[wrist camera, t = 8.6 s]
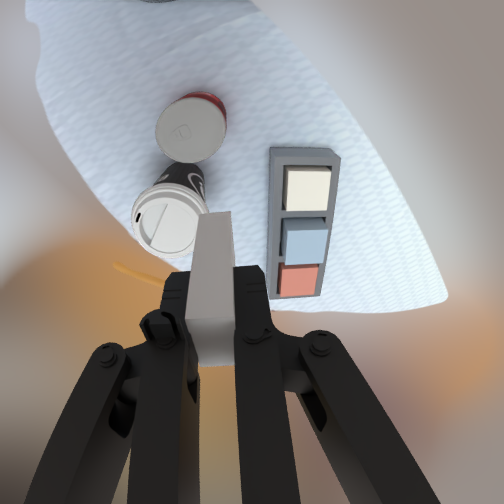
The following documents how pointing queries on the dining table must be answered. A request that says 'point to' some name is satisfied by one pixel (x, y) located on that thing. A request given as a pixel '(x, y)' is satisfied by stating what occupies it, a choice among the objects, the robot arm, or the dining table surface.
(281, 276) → the key brick
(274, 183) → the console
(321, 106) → the dining table surface
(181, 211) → the coffee cup
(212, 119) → the canned food
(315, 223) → the key blue
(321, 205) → the key ivory
